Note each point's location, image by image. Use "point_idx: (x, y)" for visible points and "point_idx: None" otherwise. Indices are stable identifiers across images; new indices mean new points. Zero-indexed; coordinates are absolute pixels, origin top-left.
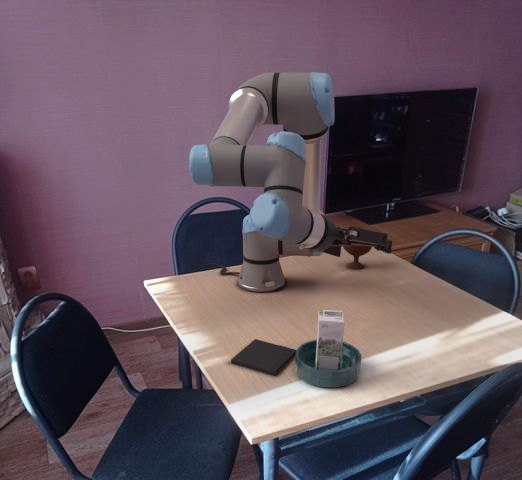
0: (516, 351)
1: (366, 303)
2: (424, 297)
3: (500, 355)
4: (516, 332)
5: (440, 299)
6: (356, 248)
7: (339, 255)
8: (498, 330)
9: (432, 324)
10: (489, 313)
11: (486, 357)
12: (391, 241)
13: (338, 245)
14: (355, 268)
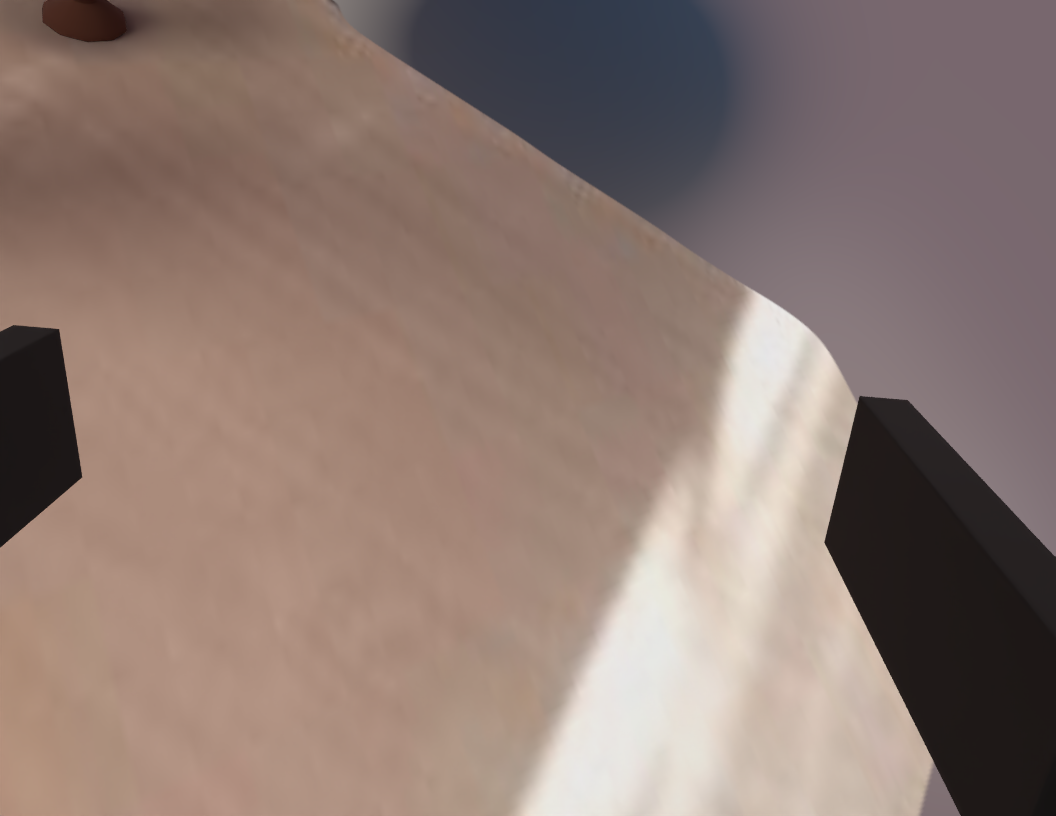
0: None
1: (234, 336)
2: (475, 234)
3: None
4: None
5: (538, 239)
6: None
7: (66, 475)
8: (810, 417)
9: (595, 448)
10: (728, 305)
11: None
12: (915, 410)
13: (14, 362)
14: (89, 37)
